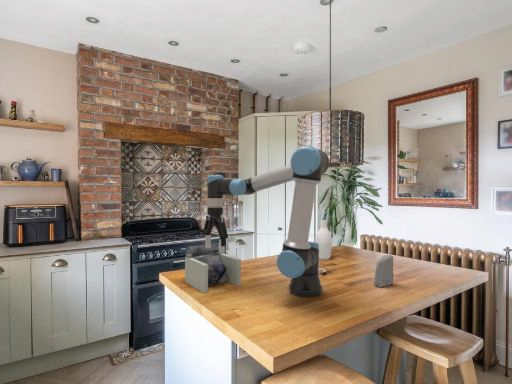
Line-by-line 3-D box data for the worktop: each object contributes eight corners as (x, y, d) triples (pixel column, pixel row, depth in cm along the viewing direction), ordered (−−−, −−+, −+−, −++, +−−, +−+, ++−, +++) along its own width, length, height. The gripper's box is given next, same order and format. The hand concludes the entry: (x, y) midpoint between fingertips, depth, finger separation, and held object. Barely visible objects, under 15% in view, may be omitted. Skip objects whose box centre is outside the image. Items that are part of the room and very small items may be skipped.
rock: (219, 287, 148) (220, 269, 144) (200, 281, 151) (201, 263, 147) (229, 275, 157) (230, 258, 154) (210, 270, 160) (211, 253, 157)
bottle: (333, 257, 214) (334, 220, 214) (328, 260, 205) (329, 221, 204) (318, 255, 220) (318, 219, 220) (312, 258, 211) (312, 220, 210)
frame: (240, 284, 152) (240, 256, 152) (203, 293, 140) (204, 262, 140) (219, 275, 168) (219, 249, 168) (185, 282, 156) (185, 254, 156)
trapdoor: (225, 285, 159) (230, 278, 155) (197, 291, 150) (202, 284, 146) (211, 250, 170) (216, 243, 166) (185, 253, 161) (189, 246, 157)
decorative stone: (381, 288, 148) (382, 257, 148) (371, 285, 153) (371, 255, 153) (395, 285, 154) (395, 254, 154) (384, 281, 159) (384, 252, 159)
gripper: (235, 208, 144) (235, 253, 144) (209, 205, 164) (209, 245, 164) (221, 208, 140) (221, 255, 140) (196, 205, 159) (196, 247, 160)
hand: (214, 250), depth 152 cm, fingers open, 13 cm apart
